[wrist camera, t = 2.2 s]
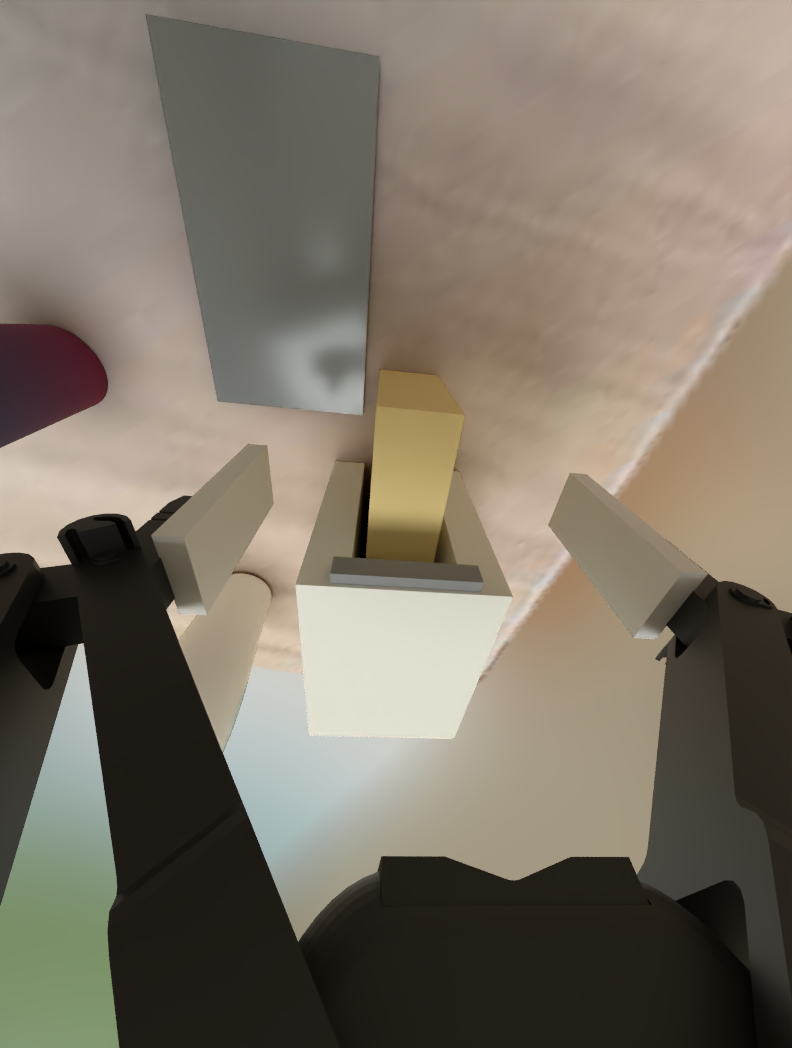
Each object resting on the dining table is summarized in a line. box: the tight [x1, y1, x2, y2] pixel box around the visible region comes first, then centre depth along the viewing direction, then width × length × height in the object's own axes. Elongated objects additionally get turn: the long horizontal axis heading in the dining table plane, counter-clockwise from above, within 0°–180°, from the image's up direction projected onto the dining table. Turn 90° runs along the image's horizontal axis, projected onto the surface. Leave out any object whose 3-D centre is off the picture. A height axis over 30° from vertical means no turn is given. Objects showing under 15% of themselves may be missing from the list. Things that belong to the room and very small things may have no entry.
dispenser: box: [296, 461, 513, 739], centre depth 25 cm, size 15×10×14 cm
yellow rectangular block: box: [366, 369, 465, 563], centre depth 23 cm, size 14×4×10 cm, turn 174°
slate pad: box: [146, 14, 380, 415], centre depth 19 cm, size 16×10×1 cm, turn 174°
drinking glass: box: [178, 573, 272, 752], centre depth 28 cm, size 7×7×15 cm
